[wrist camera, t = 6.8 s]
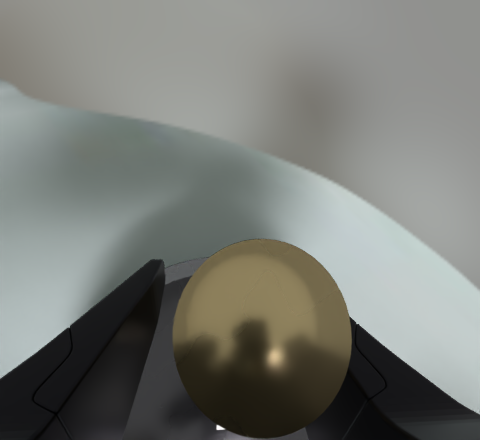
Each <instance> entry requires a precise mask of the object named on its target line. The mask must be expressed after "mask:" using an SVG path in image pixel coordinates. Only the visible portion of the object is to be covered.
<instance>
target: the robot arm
mask: <svg viewBox="0 0 480 440" xmlns="http://www.w3.org/2000/svg"><path fill="white" fill-rule="evenodd" d="M164 287H165V268H164V261H163V260H161V259H152V260H150V261H149V262H148V263H146V264H145V265H144V266H143V267H142V268H140V269H139V270H138V271H137V272H135V273H134V274H133V275H132V276H130V277H129V278H128V279H127V280H126V281H124V282H123V283H122V284H121V285H119V286H118V287H117V288H116V289H115V290H113V291H112V292H111V293H110V294H108V295H107V296H106V297H105V298H104V299H102V300H101V301H100V302H99V303H97V304H96V305H95V306H94V307H92V308H91V309H90V310H89V311H88V312H86V313H85V314H84V315H83V316H81V317H80V318H79V319H78V320H77V321H75V322H74V323H73V324H72V325H70V328H67V329H65V330H64V331H63V332H62V333H60V334H59V335H58V336H57V337H56V338H54V339H53V340H52V341H50V342H49V343H48V344H47V345H45V346H44V347H43V348H42V349H40V350H39V351H38V352H36V353H35V354H34V355H32V356H31V357H30V358H28V359H27V360H26V361H24V362H23V363H21V364H20V365H19V366H17V367H16V368H15V369H13V370H12V371H11V372H9V373H8V374H6V375H5V376H3V377H2V378H1V379H0V440H122V438H123V435H124V432H125V429H126V425H127V422H128V419H129V415H130V412H131V409H132V406H133V402H134V399H135V396H136V393H137V389H138V386H139V383H140V380H141V376H142V373H143V370H144V367H145V363H146V360H147V357H148V354H149V350H150V347H151V344H152V341H153V337H154V334H155V331H156V327H157V324H158V319H159V314H160V309H161V303H162V298H163V292H164ZM349 318H350V324H351V336H352V344H351V355H350V361H349V366H348V369H347V373H346V376H345V379H344V381H343V383H342V386H341V388H340V390H339V392H338V393H337V395H336V397H335V398H334V400H333V401H332V403H331V404H330V405H329V406H328V408H327V409H326V410H325V411H324V412H323V413H322V414H321V415H320V416H319V417H318V418H317V419H316V420H314V421H313V422H311V423H310V424H309V425H307V426H306V427H305V429H306V433H307V436H308V440H480V414H478V413H476V412H474V411H472V410H470V409H468V408H467V407H465V406H464V405H462V404H460V403H459V402H457V401H456V400H454V399H453V398H452V397H450V396H449V395H448V394H446V393H445V392H444V391H442V390H441V389H440V388H438V387H437V386H436V385H434V384H433V383H432V382H430V381H429V380H428V379H426V378H425V377H424V376H422V375H421V374H420V373H418V372H417V371H416V370H415V369H413V368H412V367H411V366H409V365H408V364H407V363H405V362H404V361H403V360H401V359H400V358H399V357H397V356H396V355H395V354H394V353H392V352H391V351H390V350H389V349H387V348H386V347H385V346H383V345H382V344H381V343H380V342H379V341H377V340H376V339H375V338H374V337H373V336H371V335H370V334H369V333H368V332H367V331H366V330H364V329H363V328H362V327H361V326H360V325H359V324H356V322H355V321H354V320H353V319H352V318H351V317H349Z"/></svg>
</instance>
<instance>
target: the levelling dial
mask: <svg viewBox="0 0 480 440" xmlns="http://www.w3.org/2000/svg"><path fill="white" fill-rule="evenodd" d="M351 344H352V336H351V324H350V318H349V314H348V310H347V306H346V303H345V301H344V298H343V296H342V293H341V291H340V290H339V288H338V286H337V284H336V282H335V281H334V279H333V278H332V277H331V275H330V274H329V272H328V271H327V270H326V269H325V268H324V267H323V266H322V265H321V264H320V263H319V262H318V261H317V260H316V259H315V258H314V257H312V256H311V255H309V254H308V253H306V252H305V251H303V250H301V249H299V248H298V247H296V246H293V245H291V244H288V243H285V242H281V241H277V240H270V239H252V240H245V241H241V242H238V243H234V244H232V245H230V246H227V247H225V248H223V249H221V250H220V251H218V252H216V253H215V254H213V255H212V256H211V257H210V258H208V259H207V260H206V261H205V262H204V263H203V264H202V265H201V266H200V267H199V268H198V269H197V270H196V271H195V273H194V274H193V275H192V276H189V277H185V278H182V279H179V280H176V281H173V282H170V283H168V284H166V285H165V287H164V292H163V298H162V303H161V309H160V314H159V319H158V324H157V327H156V331H155V334H154V337H153V341H152V344H151V347H150V350H149V354H148V357H147V360H146V363H145V367H144V370H143V373H142V376H141V380H140V383H139V386H138V389H137V393H136V396H135V399H134V402H133V406H132V409H131V412H130V415H129V419H128V422H127V425H126V429H125V432H124V435H123V438H122V440H308V436H307V433H306V429H305V427H306V426H307V425H309V424H310V423H311V422H313V421H314V420H316V419H317V418H318V417H319V416H320V415H321V414H322V413H323V412H324V411H325V410H326V409H327V408H328V406H329V405H330V404H331V403H332V401H333V400H334V398H335V397H336V395H337V393H338V392H339V390H340V388H341V386H342V383H343V381H344V379H345V376H346V373H347V369H348V366H349V361H350V355H351Z"/></svg>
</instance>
